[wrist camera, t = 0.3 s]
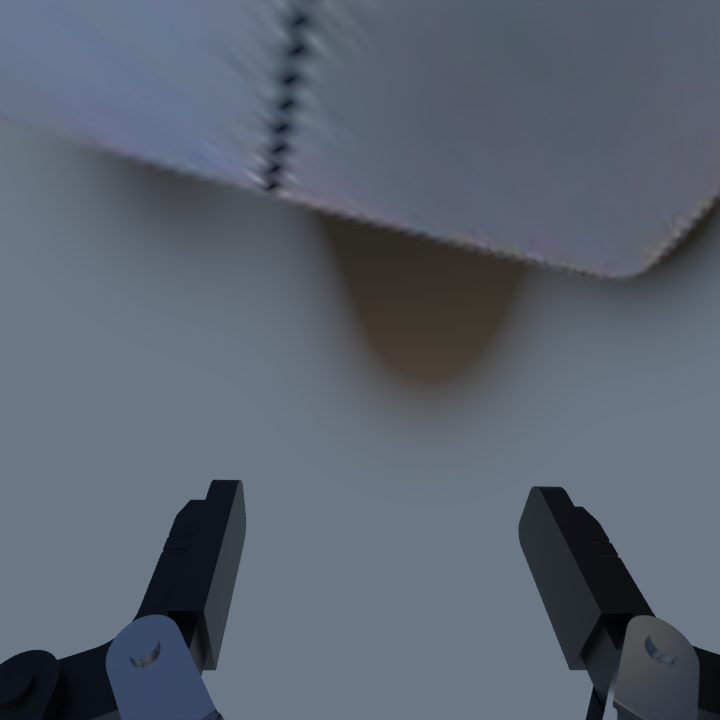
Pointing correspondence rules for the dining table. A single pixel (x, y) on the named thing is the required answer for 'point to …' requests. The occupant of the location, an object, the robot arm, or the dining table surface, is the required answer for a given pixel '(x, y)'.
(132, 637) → the robot arm
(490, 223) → the dining table surface
